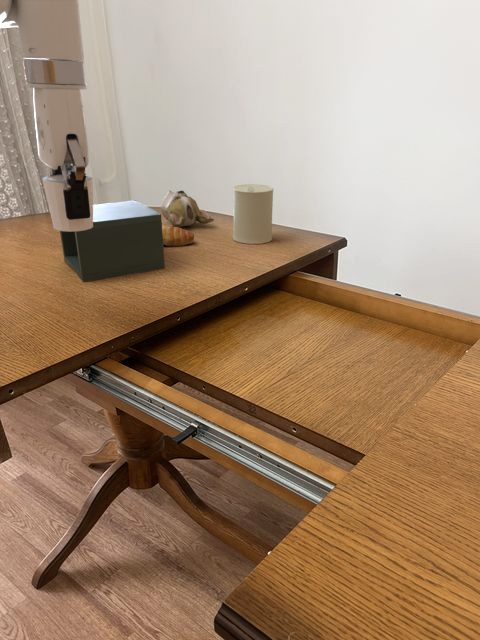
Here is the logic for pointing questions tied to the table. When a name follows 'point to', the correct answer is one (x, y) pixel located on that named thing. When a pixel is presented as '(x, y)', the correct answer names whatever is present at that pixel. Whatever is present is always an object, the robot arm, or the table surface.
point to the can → (252, 213)
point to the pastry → (176, 236)
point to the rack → (116, 242)
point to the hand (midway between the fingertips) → (71, 211)
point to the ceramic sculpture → (183, 210)
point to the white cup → (57, 204)
